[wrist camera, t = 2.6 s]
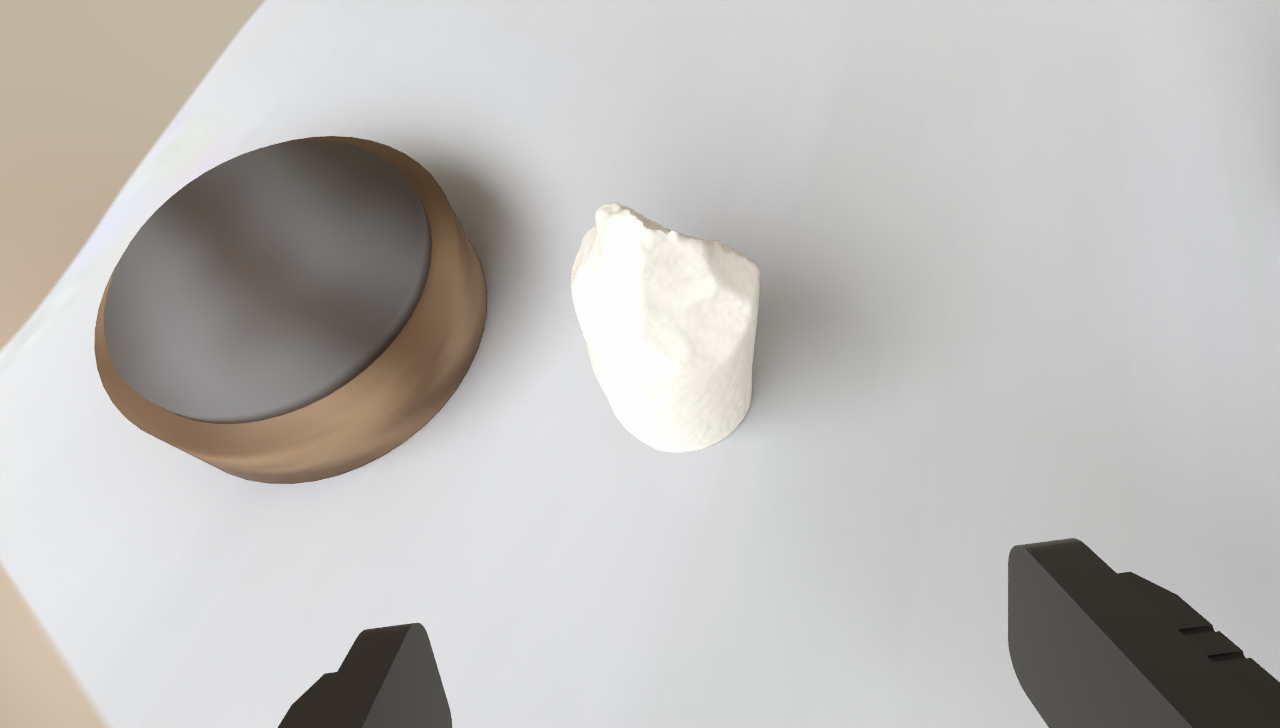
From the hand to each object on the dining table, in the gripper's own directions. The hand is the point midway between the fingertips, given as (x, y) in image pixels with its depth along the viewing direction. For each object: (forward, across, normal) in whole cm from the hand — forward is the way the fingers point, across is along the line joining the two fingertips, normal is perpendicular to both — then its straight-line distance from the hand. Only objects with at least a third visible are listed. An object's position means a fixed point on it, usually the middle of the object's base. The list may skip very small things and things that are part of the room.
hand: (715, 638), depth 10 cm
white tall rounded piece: (+19, 0, +4) cm, 19 cm away
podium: (+23, +16, -1) cm, 28 cm away
